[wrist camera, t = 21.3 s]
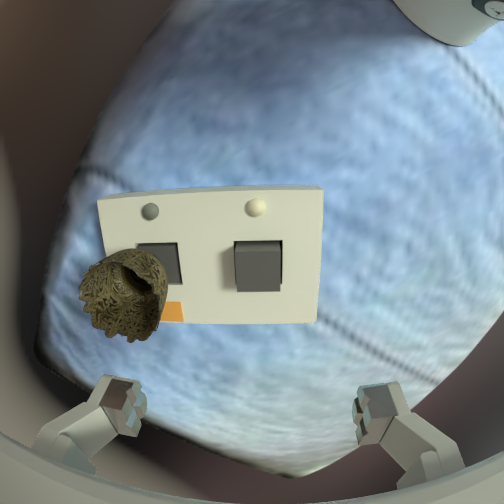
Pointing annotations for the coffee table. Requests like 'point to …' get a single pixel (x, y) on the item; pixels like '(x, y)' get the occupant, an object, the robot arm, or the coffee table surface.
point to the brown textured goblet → (125, 294)
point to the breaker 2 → (258, 266)
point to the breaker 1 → (166, 258)
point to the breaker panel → (225, 247)
